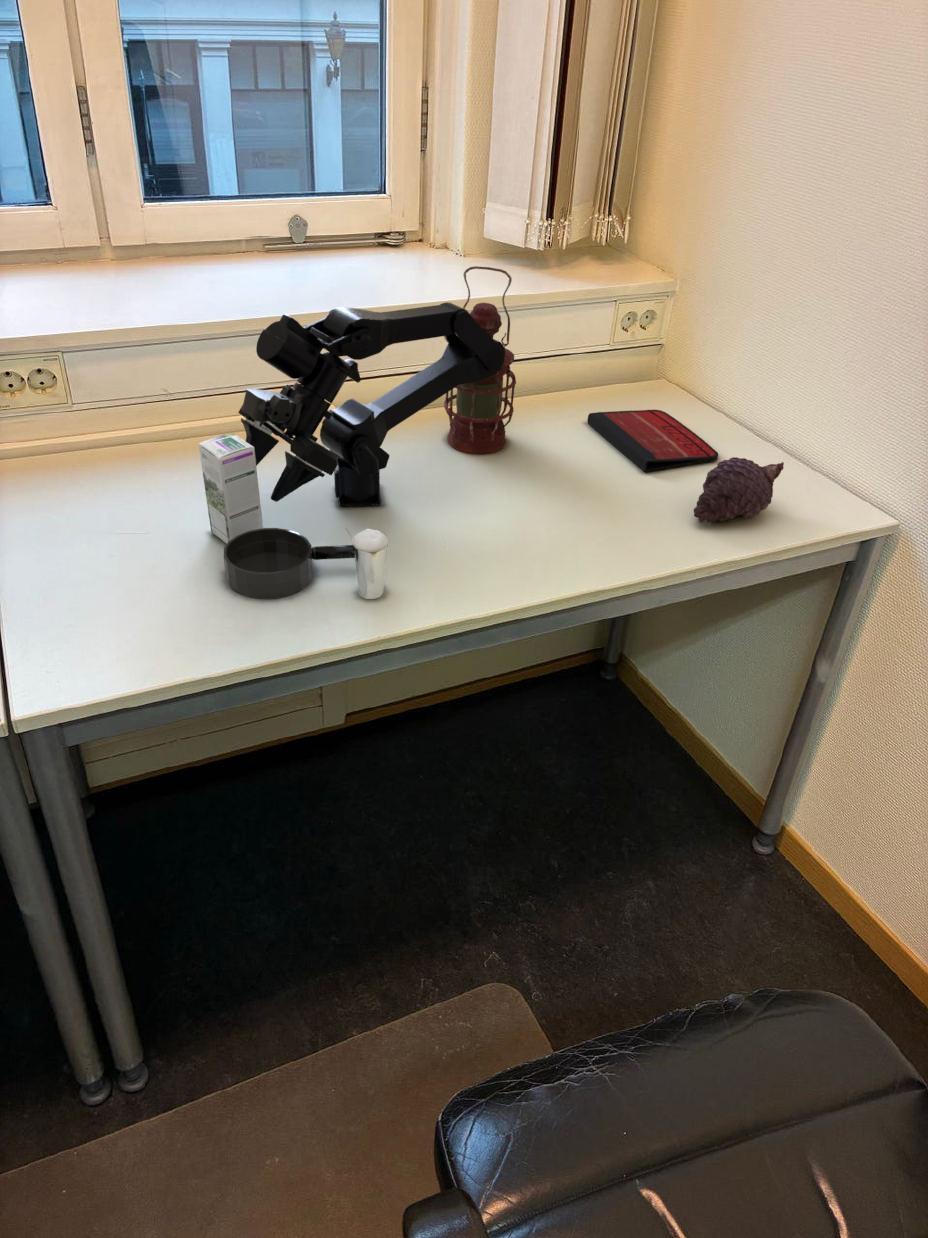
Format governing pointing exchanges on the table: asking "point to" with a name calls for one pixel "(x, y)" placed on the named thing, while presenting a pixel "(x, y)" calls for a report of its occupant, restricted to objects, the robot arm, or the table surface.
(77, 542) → the table surface
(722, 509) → the pine cone
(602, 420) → the binder
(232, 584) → the pan
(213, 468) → the syrup box
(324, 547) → the pan handle
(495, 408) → the lantern
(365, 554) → the milkshake
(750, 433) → the table surface
